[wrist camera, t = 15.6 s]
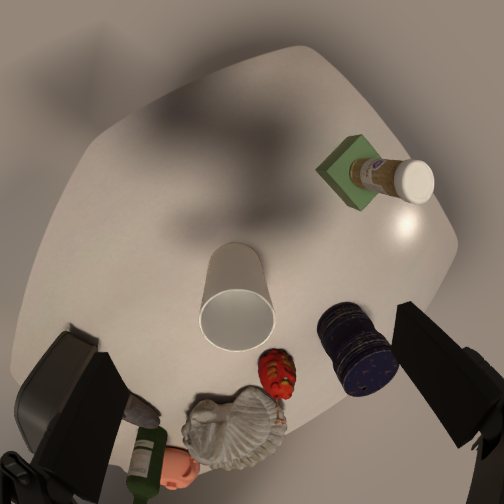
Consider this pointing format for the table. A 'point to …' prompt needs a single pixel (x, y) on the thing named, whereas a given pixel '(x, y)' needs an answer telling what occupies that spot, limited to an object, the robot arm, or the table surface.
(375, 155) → the green block
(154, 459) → the wine bottle
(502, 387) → the robot arm
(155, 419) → the perforated stone tool
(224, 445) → the seashell
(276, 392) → the red clay folk toy
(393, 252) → the table surface
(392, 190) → the sprinkles bottle
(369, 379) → the dark blue cylinder
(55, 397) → the speaker
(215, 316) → the cup
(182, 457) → the teapot
